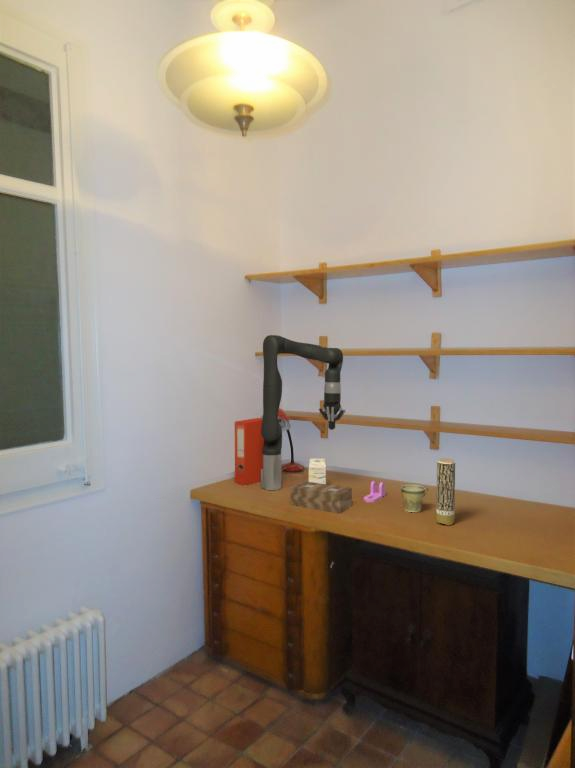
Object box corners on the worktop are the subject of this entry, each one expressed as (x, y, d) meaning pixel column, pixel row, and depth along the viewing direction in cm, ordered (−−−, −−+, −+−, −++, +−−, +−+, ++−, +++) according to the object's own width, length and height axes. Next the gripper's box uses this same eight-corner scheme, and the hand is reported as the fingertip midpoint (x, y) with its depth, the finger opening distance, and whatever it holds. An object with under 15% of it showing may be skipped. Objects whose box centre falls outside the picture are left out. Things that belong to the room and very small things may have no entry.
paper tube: (434, 520, 210) (435, 458, 208) (451, 520, 210) (452, 458, 208) (438, 526, 203) (439, 462, 202) (456, 526, 203) (457, 462, 201)
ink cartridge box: (308, 490, 255) (308, 460, 254) (308, 487, 260) (308, 458, 259) (325, 490, 255) (325, 460, 253) (326, 487, 259) (326, 458, 258)
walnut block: (290, 504, 232) (290, 487, 231) (303, 498, 242) (303, 481, 241) (339, 513, 219) (340, 494, 219) (351, 505, 229) (351, 488, 229)
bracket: (373, 494, 247) (374, 480, 247) (384, 496, 244) (385, 481, 244) (361, 501, 237) (361, 486, 236) (372, 503, 233) (372, 488, 233)
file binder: (269, 479, 276) (268, 419, 274) (246, 486, 263) (245, 422, 261) (258, 476, 282) (257, 417, 279) (235, 483, 269) (234, 421, 266)
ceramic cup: (410, 515, 216) (411, 492, 215) (395, 509, 225) (396, 486, 224) (435, 511, 221) (435, 488, 220) (420, 505, 230) (420, 482, 229)
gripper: (315, 391, 239) (315, 429, 241) (341, 393, 232) (341, 431, 234) (323, 390, 246) (323, 427, 247) (349, 392, 239) (348, 429, 240)
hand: (331, 429), depth 240 cm, fingers closed
